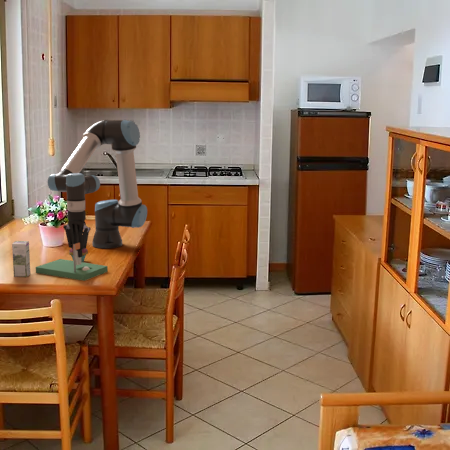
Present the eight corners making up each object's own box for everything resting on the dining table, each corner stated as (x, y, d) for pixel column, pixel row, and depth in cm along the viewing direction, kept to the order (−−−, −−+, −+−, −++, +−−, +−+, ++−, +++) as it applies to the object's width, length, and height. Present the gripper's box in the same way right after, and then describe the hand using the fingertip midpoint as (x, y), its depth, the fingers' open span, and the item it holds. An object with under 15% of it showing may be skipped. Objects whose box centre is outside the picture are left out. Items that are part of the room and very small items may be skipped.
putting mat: (60, 264, 286) (59, 232, 283) (107, 271, 275) (106, 239, 272) (35, 272, 272) (34, 239, 269) (84, 280, 261) (83, 246, 258)
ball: (88, 264, 270) (93, 270, 270) (84, 268, 272) (88, 275, 272) (83, 266, 267) (87, 272, 267) (78, 270, 269) (83, 277, 269)
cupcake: (80, 258, 297) (79, 233, 295) (92, 261, 292) (91, 235, 290) (65, 261, 291) (64, 236, 288) (77, 264, 285) (76, 238, 283)
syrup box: (30, 273, 270) (29, 240, 267) (27, 277, 264) (25, 243, 262) (17, 273, 270) (15, 240, 267) (13, 277, 264) (11, 243, 261)
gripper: (58, 210, 266) (60, 264, 270) (83, 213, 260) (84, 268, 265) (69, 207, 273) (71, 260, 277) (94, 210, 267) (95, 264, 272)
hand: (78, 264), depth 271 cm, fingers closed
